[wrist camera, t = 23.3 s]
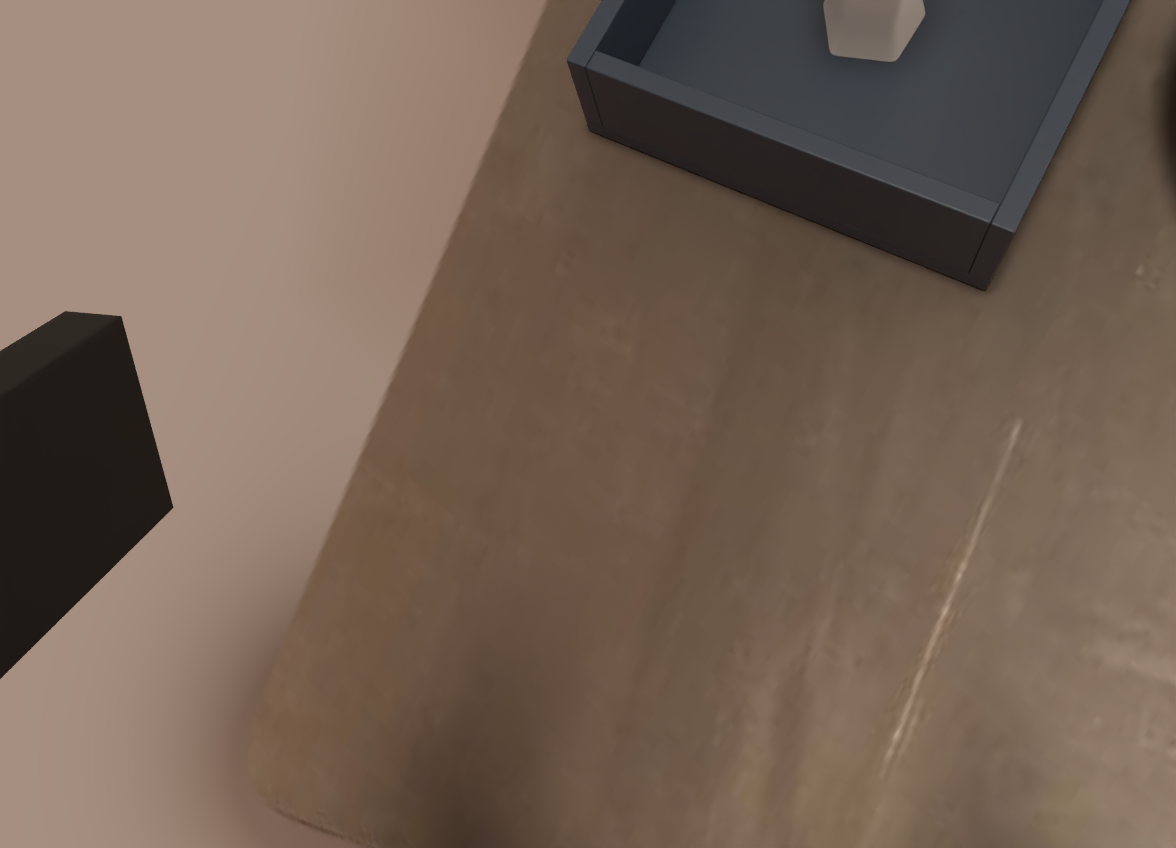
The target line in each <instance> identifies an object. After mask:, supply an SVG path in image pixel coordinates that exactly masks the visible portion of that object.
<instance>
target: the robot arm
mask: <svg viewBox="0 0 1176 848" xmlns="http://www.w3.org/2000/svg"><path fill="white" fill-rule="evenodd" d="M172 508H173V504H172V501H171V497H170V494H169V490H168V486H167V482H166V479H165V475H164V472H163V468H162V464H161V460H160V457H159V453H158V449H157V446H156V442H155V438H154V435H153V431H152V427H151V424H150V420H149V417H148V413H147V409H146V405H145V402H144V399H143V394H142V391H141V387H140V383H139V380H138V376H137V372H136V369H135V365H134V361H133V357H132V354H131V350H130V347H129V343H128V339H127V335H126V332H125V328H124V325H123V321H122V317H121V316H112V315H101V314H90V313H79V312H67V311H65V312H63V313H62V314H60V315H58V316H57V317H55V318H53V319H52V320H50V321H49V322H47V323H45V324H44V325H42V326H40V327H39V328H37V329H35V330H34V331H32V332H31V333H29V334H27V335H26V336H24V337H22V338H21V339H19V340H17V341H16V342H14V343H13V344H11V345H9V346H8V347H6V348H4V349H3V350H1V351H0V679H1V678H2V677H3V676H4V675H5V673H7V672H8V671H9V670H10V669H11V668H12V667H13V666H14V665H15V664H16V663H17V662H18V661H19V660H20V659H21V658H22V657H23V656H24V655H25V654H26V653H27V652H28V651H29V650H30V649H31V648H32V647H33V646H34V645H35V644H36V643H37V642H38V641H39V640H40V639H41V638H42V637H43V636H44V635H45V634H46V633H47V632H48V631H49V630H50V629H51V628H52V627H53V626H54V625H55V624H56V623H57V622H58V621H59V620H60V619H61V618H62V617H63V616H64V615H65V614H66V613H67V612H68V611H69V610H70V609H71V608H72V607H73V606H74V605H75V604H76V603H77V602H78V601H79V600H80V599H81V598H82V597H83V596H84V595H86V594H87V593H88V592H89V591H90V590H91V589H92V588H93V587H94V586H95V585H96V584H97V583H98V582H99V581H100V580H101V579H102V578H103V577H104V576H105V575H106V574H107V573H108V572H109V571H110V570H111V569H112V568H113V567H114V566H115V565H116V564H117V563H118V562H119V561H120V560H121V559H122V558H123V557H124V556H125V555H126V554H127V553H128V552H129V551H130V550H131V549H132V548H133V547H134V546H135V545H136V544H137V543H138V542H139V541H140V540H141V539H142V538H143V537H144V536H145V535H146V534H147V533H148V532H149V531H150V530H151V529H152V528H153V527H154V526H155V525H156V524H157V523H158V522H159V521H160V520H161V519H162V518H163V517H164V516H165V515H166V514H167V513H168V512H169V511H170V510H171V509H172Z"/></svg>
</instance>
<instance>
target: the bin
mask: <svg viewBox="0 0 1176 848" xmlns="http://www.w3.org/2000/svg"><path fill="white" fill-rule="evenodd" d="M824 1H825V0H602V1H601V3H600V4H599V6H598V8H597V9H596V11H595V13H594V14H593V16H592V18H591V20H590V21H589V23H588V25H587V26H586V28H585V30H584V31H583V33H582V35H581V36H580V38H579V40H578V41H577V43H576V45H575V46H574V48H573V50H572V51H571V53H570V55H569V57H568V58H567V63H568V66H569V69H570V72H571V75H572V79H573V82H574V85H575V88H576V91H577V94H578V97H579V100H580V103H581V106H582V109H583V112H584V115H585V118H586V121H587V124H588V127H589V130H590V131H592V132H594V133H597V134H599V135H602V136H604V137H607V138H609V139H612V140H614V141H617V142H619V143H621V144H624V145H626V146H629V147H631V148H634V149H636V150H639V151H641V152H644V153H646V154H649V155H651V156H654V157H656V158H658V159H661V160H663V161H666V162H668V163H671V164H673V165H676V166H678V167H681V168H683V169H686V170H688V171H691V172H693V173H695V174H698V175H700V176H703V177H705V178H708V179H710V180H713V181H715V182H718V183H720V184H723V185H725V186H728V187H730V188H732V189H735V190H737V191H740V192H742V193H745V194H747V195H750V196H752V197H755V198H757V199H760V200H762V201H765V202H767V203H769V204H772V205H774V206H777V207H779V208H782V209H784V210H787V211H789V212H792V213H794V214H797V215H799V216H802V217H804V218H807V219H809V220H811V221H814V222H816V223H819V224H821V225H824V226H826V227H829V228H831V229H834V230H836V231H839V232H841V233H844V234H846V235H848V236H851V237H853V238H856V239H858V240H861V241H863V242H866V243H868V244H871V245H873V246H876V247H878V248H881V249H883V250H885V251H888V252H890V253H893V254H895V255H898V256H900V257H903V258H905V259H908V260H910V261H913V262H915V263H918V264H920V265H922V266H925V267H927V268H930V269H932V270H935V271H937V272H940V273H942V274H945V275H947V276H950V277H952V278H955V279H957V280H959V281H962V282H964V283H967V284H969V285H972V286H974V287H977V288H979V289H982V290H984V291H986V290H987V288H988V286H989V284H990V282H991V280H992V278H993V276H994V274H995V272H996V270H997V268H998V266H999V264H1000V262H1001V260H1002V258H1003V256H1004V254H1005V252H1006V250H1007V248H1008V246H1009V244H1010V242H1011V240H1012V238H1013V236H1014V234H1015V232H1016V230H1017V228H1018V226H1019V224H1020V222H1021V220H1022V218H1023V216H1024V214H1025V212H1026V210H1027V208H1028V206H1029V204H1030V202H1031V200H1032V198H1033V196H1034V194H1035V192H1036V190H1037V188H1038V186H1039V184H1040V182H1041V180H1042V178H1043V176H1044V174H1045V172H1046V170H1047V168H1048V166H1049V164H1050V162H1051V160H1052V158H1053V156H1054V154H1055V152H1056V150H1057V148H1058V146H1059V144H1060V142H1061V140H1062V138H1063V136H1064V134H1065V132H1066V130H1067V128H1068V126H1069V124H1070V122H1071V120H1072V118H1073V116H1074V114H1075V112H1076V110H1077V108H1078V106H1079V104H1080V102H1081V100H1082V98H1083V96H1084V94H1085V92H1086V90H1087V87H1088V85H1089V83H1090V81H1091V79H1092V77H1093V75H1094V73H1095V71H1096V69H1097V67H1098V65H1099V63H1100V61H1101V59H1102V57H1103V55H1104V53H1105V51H1106V49H1107V47H1108V45H1109V43H1110V41H1111V39H1112V37H1113V35H1114V33H1115V31H1116V29H1117V27H1118V25H1119V23H1120V21H1121V19H1122V17H1123V15H1124V13H1125V11H1126V9H1127V7H1128V5H1129V3H1130V1H1131V0H923V4H924V9H925V16H924V18H923V20H922V21H921V23H920V25H919V26H918V28H917V29H916V31H915V33H914V34H913V36H912V37H911V39H910V41H909V42H908V44H907V45H906V47H905V48H904V50H903V52H902V53H901V55H900V56H899V58H898V59H897V60H896V61H893V62H885V61H877V60H868V59H859V58H851V57H842V56H836V55H833V54H832V53H830V50H829V44H828V37H827V29H826V22H825V15H824V8H823V4H824Z"/></svg>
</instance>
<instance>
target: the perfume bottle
mask: <svg viewBox="0 0 1176 848" xmlns="http://www.w3.org/2000/svg"><path fill="white" fill-rule="evenodd" d="M823 8H824V15H825V22H826V29H827V37H828V44H829V50H830V53H832V54H833V55H836V56H842V57H851V58H859V59H868V60H877V61H885V62H893V61H896V60H897V59H898V58H899V56H900V55H901V53H902V52H903V50H904V48H905V47H906V45H907V44H908V42H909V41H910V39H911V37H912V36H913V34H914V33H915V31H916V29H917V28H918V26H919V25H920V23H921V21H922V20H923V18H924V16H925V9H924V4H923V0H825V1H824V4H823Z"/></svg>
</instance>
